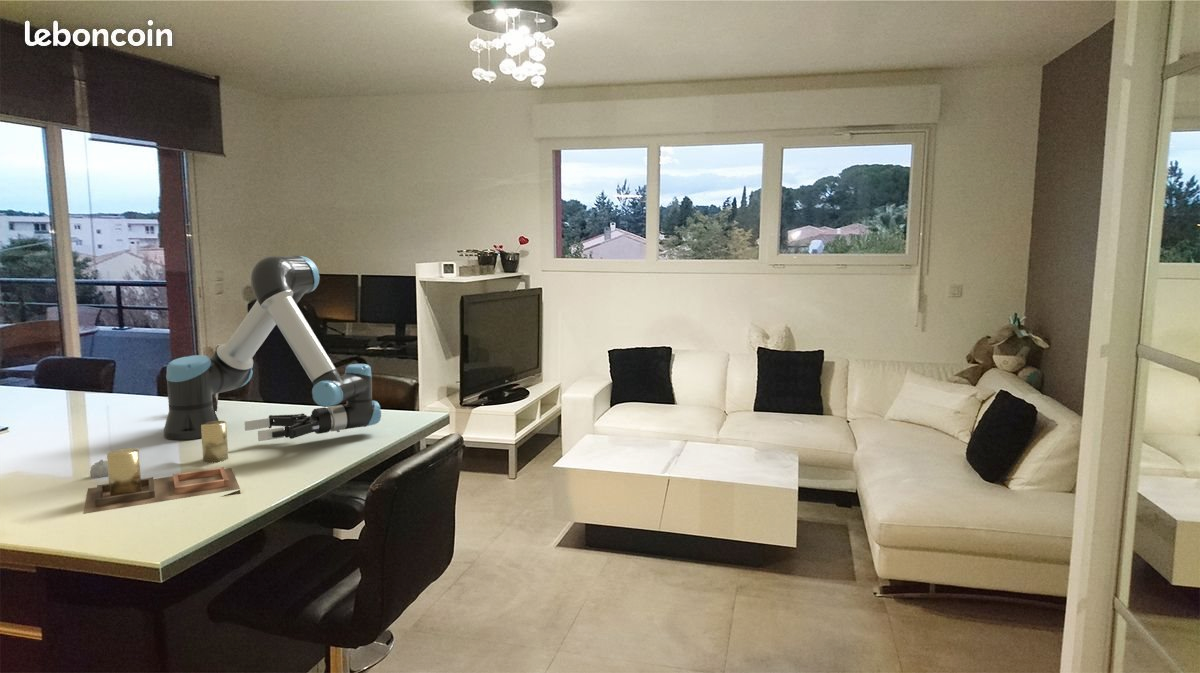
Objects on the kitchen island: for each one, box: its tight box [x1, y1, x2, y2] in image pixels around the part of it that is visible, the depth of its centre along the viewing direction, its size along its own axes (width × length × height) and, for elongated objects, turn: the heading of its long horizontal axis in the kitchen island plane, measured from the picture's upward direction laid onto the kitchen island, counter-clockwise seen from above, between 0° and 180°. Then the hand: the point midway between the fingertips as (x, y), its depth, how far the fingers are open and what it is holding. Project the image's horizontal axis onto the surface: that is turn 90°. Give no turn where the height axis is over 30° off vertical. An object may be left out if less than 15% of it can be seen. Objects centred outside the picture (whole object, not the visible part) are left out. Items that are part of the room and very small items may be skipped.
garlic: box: [89, 459, 109, 478], centre depth 175 cm, size 6×5×5 cm
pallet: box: [83, 466, 241, 515], centre depth 166 cm, size 30×18×3 cm, turn 123°
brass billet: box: [201, 420, 229, 464], centre depth 191 cm, size 6×6×10 cm
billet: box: [106, 447, 142, 496], centre depth 161 cm, size 6×6×10 cm
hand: (251, 430), depth 197 cm, fingers open, 13 cm apart
